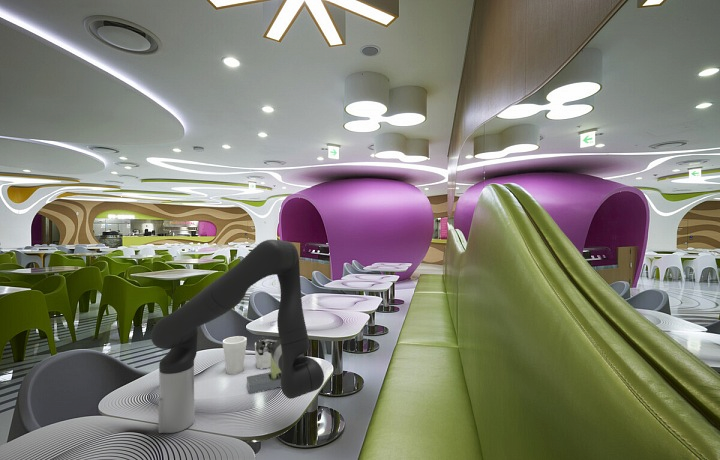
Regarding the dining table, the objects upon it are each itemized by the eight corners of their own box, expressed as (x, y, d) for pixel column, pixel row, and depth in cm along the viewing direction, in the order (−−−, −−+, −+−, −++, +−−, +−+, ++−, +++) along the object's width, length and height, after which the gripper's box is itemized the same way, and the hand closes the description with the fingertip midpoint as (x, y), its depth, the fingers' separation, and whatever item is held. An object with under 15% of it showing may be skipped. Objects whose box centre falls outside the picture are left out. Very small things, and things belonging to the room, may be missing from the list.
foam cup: (222, 368, 141) (222, 338, 141) (245, 364, 145) (245, 335, 145) (223, 377, 132) (223, 345, 132) (247, 373, 136) (247, 341, 136)
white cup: (270, 369, 140) (270, 345, 140) (252, 369, 140) (252, 345, 140) (276, 362, 147) (275, 339, 147) (258, 362, 148) (258, 339, 148)
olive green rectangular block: (272, 385, 124) (272, 350, 124) (270, 380, 128) (270, 347, 128) (286, 382, 127) (285, 348, 127) (283, 378, 130) (283, 345, 130)
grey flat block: (249, 393, 119) (249, 385, 119) (246, 384, 126) (246, 376, 126) (308, 381, 128) (308, 373, 128) (303, 373, 136) (303, 366, 136)
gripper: (310, 339, 101) (296, 324, 115) (262, 345, 94) (253, 329, 109) (309, 364, 101) (296, 346, 115) (261, 372, 95) (253, 352, 109)
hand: (275, 338), depth 112 cm, fingers open, 8 cm apart
